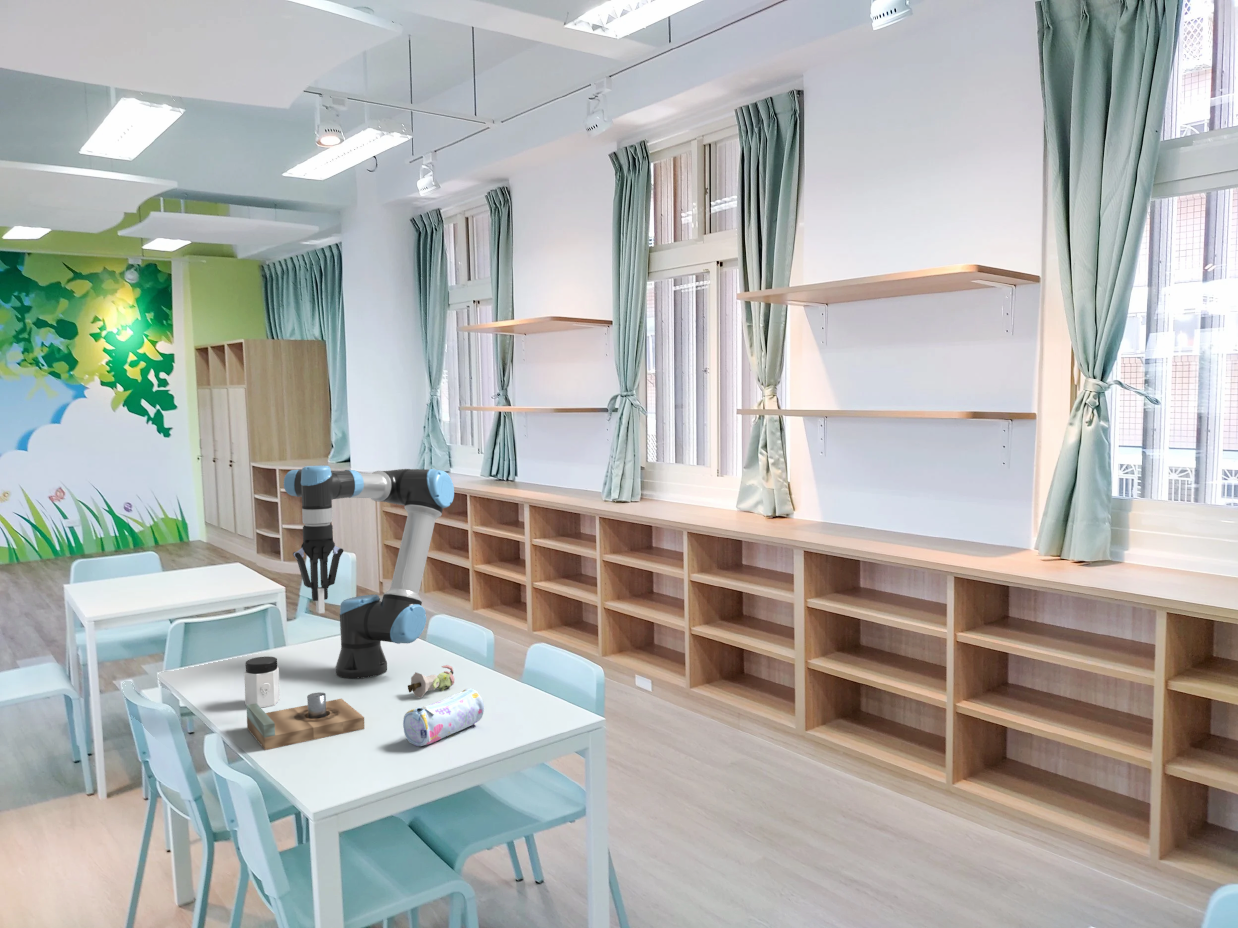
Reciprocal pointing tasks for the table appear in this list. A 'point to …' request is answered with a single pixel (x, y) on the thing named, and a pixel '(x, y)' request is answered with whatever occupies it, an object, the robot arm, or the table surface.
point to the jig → (301, 724)
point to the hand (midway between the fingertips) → (320, 612)
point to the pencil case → (443, 717)
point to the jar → (262, 681)
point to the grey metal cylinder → (316, 705)
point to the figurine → (431, 682)
